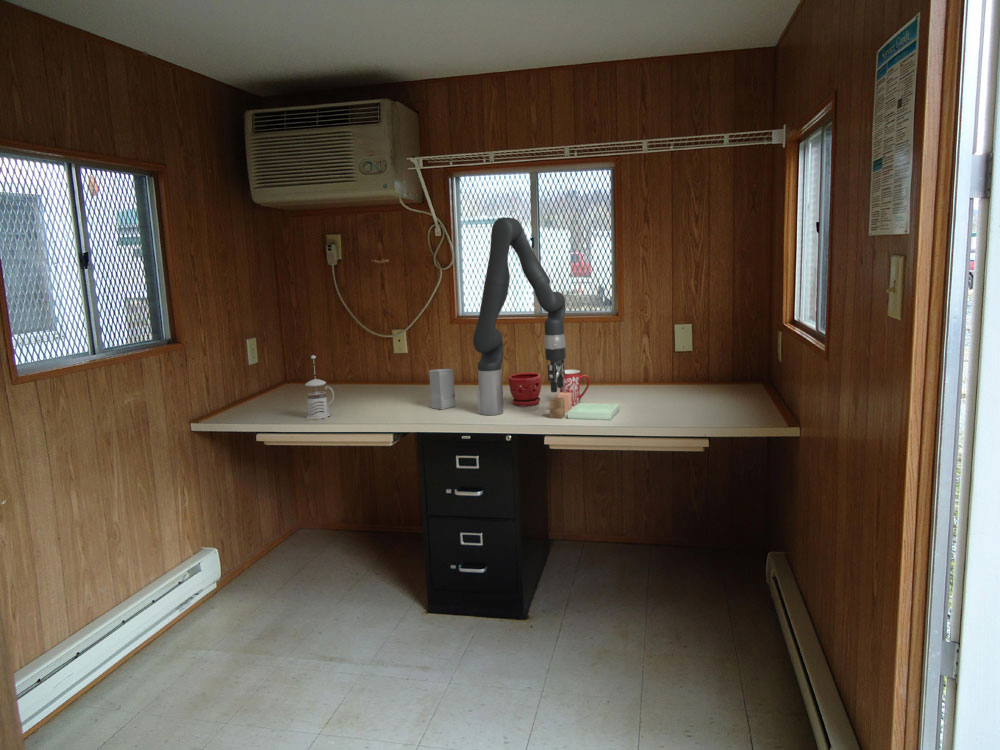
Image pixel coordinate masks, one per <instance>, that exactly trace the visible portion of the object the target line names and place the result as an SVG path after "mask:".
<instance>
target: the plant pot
mask: <svg viewBox="0 0 1000 750" xmlns="http://www.w3.org/2000/svg"><path fill="white" fill-rule="evenodd" d="M508 385H509V391H510V395H511V396H512V400H511V401H512V403H513V404H514V405H516V406H520V407H527V406H534V405H537V404H539V403H540V401H541V397H539V396H540V395H541V391H542V390H541V389H542V377H541V374H540V373H537V372H520V373H516V374H511V375H510V376H508Z"/></svg>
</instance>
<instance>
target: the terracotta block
mask: <svg viewBox="0 0 1000 750" xmlns="http://www.w3.org/2000/svg"><path fill="white" fill-rule="evenodd" d="M556 398H564V401H565V414H568V411H569V410H570V409H572V408H573V406H572V399H571V393H563V392H560V391H559V393H557V394H556Z"/></svg>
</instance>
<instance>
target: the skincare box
mask: <svg viewBox="0 0 1000 750" xmlns="http://www.w3.org/2000/svg"><path fill="white" fill-rule="evenodd" d="M428 373H429V374H428V375H429V388H430V389H429V390H430V405H431V409H436V410H441V409H443V410H445V409H446V408H447V409H450V408H453V407H456V393H455V379H454V378H455V377H454V369H453V368H439V369H438V368H437V369H431V370H428Z"/></svg>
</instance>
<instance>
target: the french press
mask: <svg viewBox="0 0 1000 750" xmlns="http://www.w3.org/2000/svg"><path fill="white" fill-rule="evenodd" d="M316 358H317V356H316V355H313V354H312V355H311V356H310V359H313V360H312V361H313V363H315V359H316ZM313 369H314V370H313V372H314V373H313V374H316V370H315V369H316V368H315V366H313ZM326 384H327V381H325V380H322V379H318V378H316V377H314V379H311V380H309V381H307V382H306V383H305V387H321V386H324V385H325V386H324V388H325V391H317V388H315V391H311V392H308V393H307V397H306V401H307V412H308V414H307V416H306V418H323V417H327V416H329V415H331V414H330V410H329V405H330V404H331V403H332V402H333V401H334V398H335V392H334V390H333V388H332V387H331V386H329V385H326ZM327 389H329V390H330V391H331V392H332V398H331V401H330V402H328V396H327V395H326V390H327Z"/></svg>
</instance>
